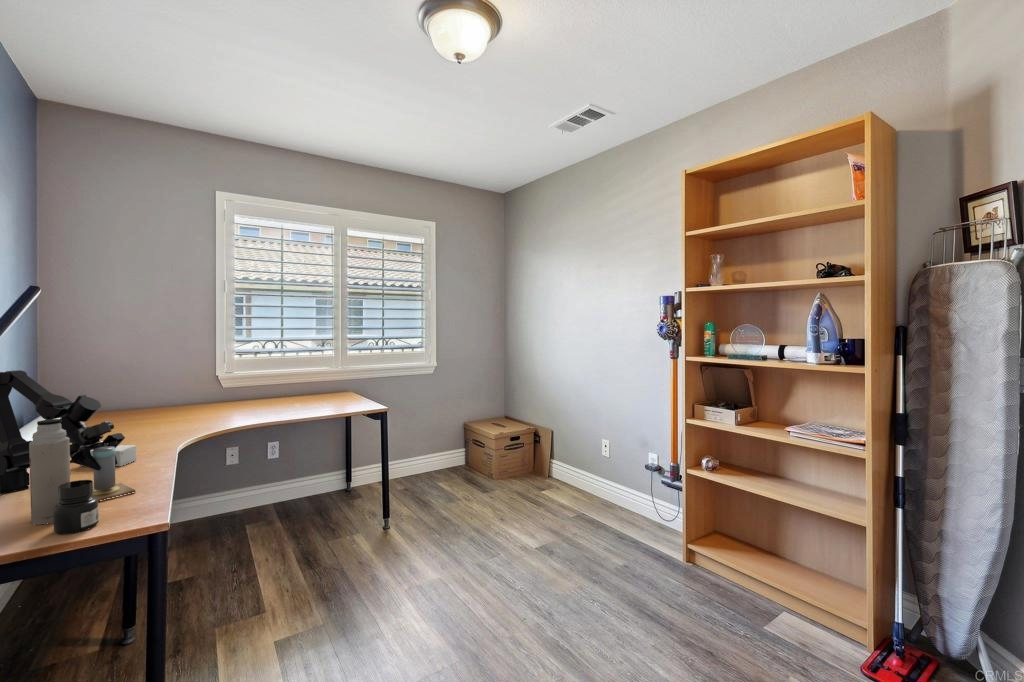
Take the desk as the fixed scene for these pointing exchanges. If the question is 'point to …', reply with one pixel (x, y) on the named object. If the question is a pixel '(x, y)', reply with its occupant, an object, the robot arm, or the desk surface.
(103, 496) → the plate
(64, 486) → the ink bottle
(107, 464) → the grey cylinder
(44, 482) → the thermos bottle
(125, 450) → the skincare box
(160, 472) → the desk surface
